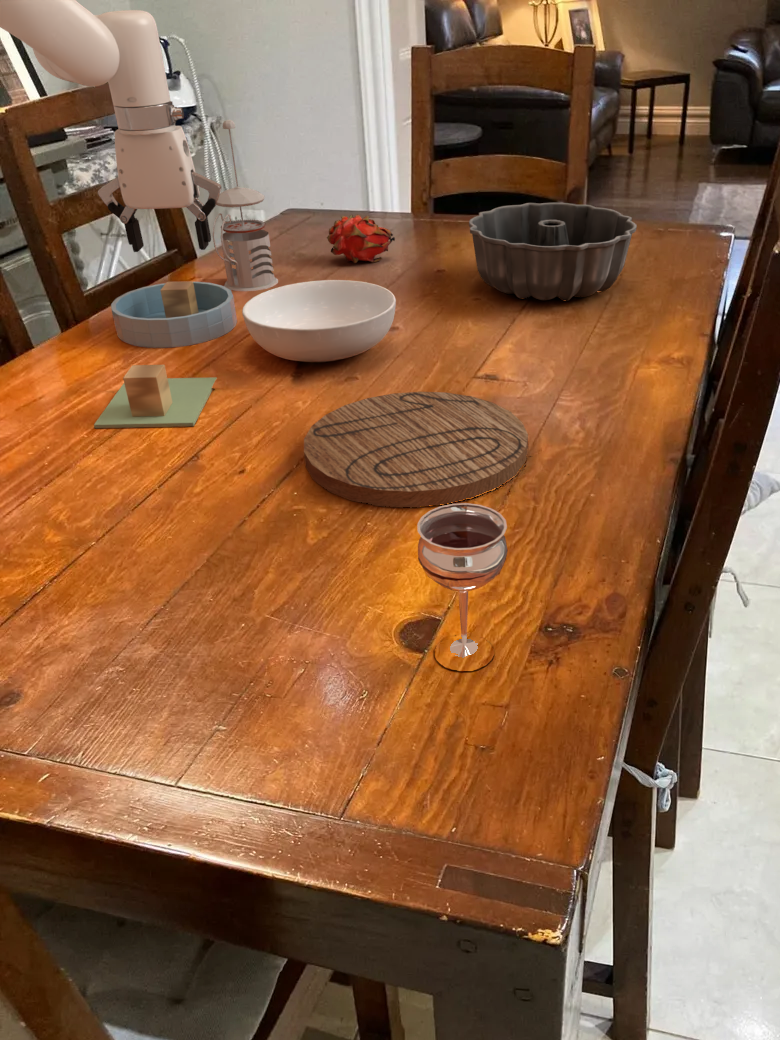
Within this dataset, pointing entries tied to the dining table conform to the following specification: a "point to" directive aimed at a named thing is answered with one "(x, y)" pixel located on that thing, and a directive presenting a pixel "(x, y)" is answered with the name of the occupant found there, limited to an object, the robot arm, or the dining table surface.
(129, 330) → the pan
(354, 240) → the dragon fruit
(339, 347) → the serving bowl
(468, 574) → the wineglass
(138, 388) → the block front
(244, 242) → the french press
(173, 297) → the block back
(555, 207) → the bundt pan
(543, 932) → the dining table surface
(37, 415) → the dining table surface
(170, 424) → the mat
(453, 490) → the trivet
